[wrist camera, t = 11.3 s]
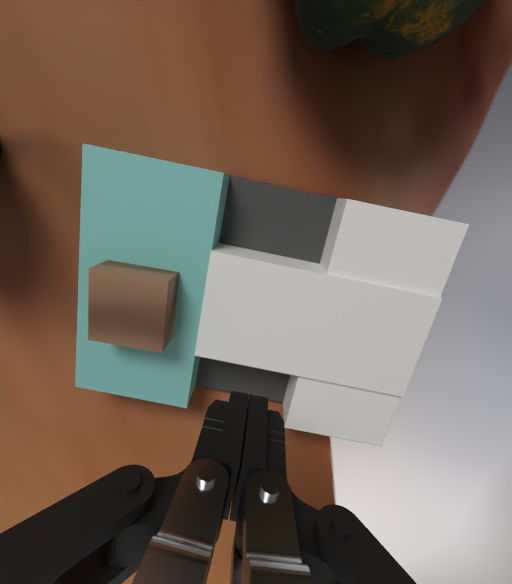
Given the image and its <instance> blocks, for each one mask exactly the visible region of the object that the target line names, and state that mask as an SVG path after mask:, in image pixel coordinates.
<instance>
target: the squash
mask: <svg viewBox="0 0 512 584" xmlns="http://www.w3.org/2000/svg"><path fill="white" fill-rule="evenodd" d="M485 1H486V0H294V6H295V13H296V18H297V22H298V26H299V29H300V32H301V34H302V36H303V38H304V39H305V41H306V42H307V44H308V45H309V46H310V47H312V48H313V49H316V50H329V49H333V48H337V47H340V46H342V45H345V44H348V43H350V42H352V41H354V40H356V39H357V38H358V39H359V42H360V44H361V45H362V47H363V48H364V50H365V51H367V52H368V53H369V54H371V55H372V56H374V57H377V58H383V59H394V58H398V57H401V56H405V55H408V54H412V53H415V52H416V51H419V50H421V49H423V48H425V47H427V46H429V45H431V44H433V43H435V42H437V41H438V40H440V39H441V38H443V37H445V36H446V35H448V34H450V33H451V32H452V31H454V30H455V29H456V28H458V27H459V26H460V25H462V24H463V23H464V22H465V21H466V20H467V19H468V18H469V17H470V16H471V15H472V14H473V13H474V12H475V11H476V10H477V9H478V8H479V7H480V6H481V5H482V4H483V3H484V2H485Z"/></svg>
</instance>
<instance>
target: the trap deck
mask: <svg viewBox="0 0 512 584" xmlns="http://www.w3.org/2000/svg"><path fill="white" fill-rule="evenodd" d="M468 226H469V224H464V223H460V222H455V221H450V220H445V219H441V218H436V217H431V216H426V215H422V214H417V213H412V212H407V211H403V210H398V209H393V208H388V207H384V206H379V205H374V204H369V203H364V202H360V201H355V200H350V199H342V198H334V197H329V196H324V195H320V194H315V193H310V192H305V191H301V190H296V189H291V188H286V187H281V186H277V185H272V184H267V183H262V182H258V181H253V180H248V179H243V178H239V177H234V176H229V175H227V174H225V173H221V172H217V171H212V170H207V169H202V168H198V167H193V166H188V165H183V164H178V163H174V162H169V161H164V160H159V159H155V158H150V157H145V156H140V155H136V154H131V153H126V152H121V151H117V150H112V149H107V148H102V147H97V146H93V145H88V144H83V150H82V182H81V215H80V247H79V280H78V313H77V345H76V378H75V387H80V388H85V389H90V390H96V391H101V392H106V393H111V394H116V395H121V396H126V397H131V398H136V399H141V400H147V401H152V402H157V403H162V404H167V405H172V406H177V407H182V408H187V406H188V404H189V401H190V398H191V396H192V393H193V391H194V388H195V386H196V385H197V386H202V387H207V388H212V389H217V390H222V391H227V392H231V390H232V389H233V390H238V391H243V392H248V393H249V396H250V393H253V394H258V395H263V396H268V400H273V401H278V402H283V412H284V427H285V428H290V429H295V430H300V431H305V432H310V433H315V434H320V435H325V436H331V437H336V438H341V439H346V440H351V441H356V442H362V443H367V444H372V445H377V446H382V443H383V441H384V438H385V436H386V433H387V430H388V428H389V425H390V423H391V420H392V418H393V415H394V413H395V410H396V408H397V405H398V402H399V400H400V398H401V397H403V396H404V394H405V391H406V389H407V386H408V384H409V381H410V379H411V376H412V374H413V371H414V369H415V366H416V364H417V361H418V359H419V356H420V354H421V351H422V349H423V346H424V344H425V341H426V339H427V336H428V334H429V331H430V328H431V326H432V324H433V321H434V319H435V316H436V314H437V311H438V309H439V306H440V304H441V301H442V298H441V294H442V291H443V289H444V287H445V284H446V282H447V279H448V276H449V274H450V271H451V269H452V266H453V264H454V261H455V259H456V256H457V254H458V251H459V248H460V246H461V244H462V241H463V238H464V236H465V234H466V231H467V228H468ZM107 260H112V261H117V262H123V263H129V264H135V265H141V266H147V267H152V268H158V269H164V270H170V271H176V272H179V281H178V291H177V301H176V312H175V322H174V333H173V338H172V339H171V341H170V342H169V344H168V345H167V346H166V348H165V349H164V351H163V352H162V353H160V352H155V351H149V350H143V349H137V348H131V347H125V346H119V345H113V344H107V343H102V342H96V341H90V340H88V278H89V268H90V267H92V266H95V265H97V264H99V263H102V262H104V261H107Z"/></svg>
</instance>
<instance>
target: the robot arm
mask: <svg viewBox="0 0 512 584" xmlns="http://www.w3.org/2000/svg"><path fill="white" fill-rule="evenodd" d="M248 397H249V400H248ZM284 434H285V428H284V421H283V419H282V417H281V415H280V413H279V412H277V411H272V410H268V396H263V395H258V394H253V393H250V396H249V393H248V392H243V391H238V390H233V389H232V390H231V394H230V399H229V402H226V401H221V400H215V401H214V402H213V403H212V404H211V405H210V406H209V407H208V410H207V413H206V416H205V419H204V423H203V426H202V429H201V433H200V436H199V439H198V442H197V446H196V449H195V452H194V455H193V459H192V461H191V463H190V464H189V465H188V466H187V468H186V469H185V470H183V471H182V472H180V473H178V474H176V475H173V476H168V477H160V478H154V476H153V474H152V472H151V471H150V470H149V469H147V468H146V467H143V466H140V465H127V466H123V467H121V468H119V469H117V470H115V471H113V472H111V473H109V474H107V475H106V476H104V477H102V478H100V479H98V480H97V481H95V482H93V483H91V484H89V485H88V486H86V487H84V488H82V489H80V490H78V491H77V492H75V493H73V494H71V495H69V496H68V497H66V498H64V499H62V500H60V501H59V502H57V503H55V504H53V505H51V506H50V507H48V508H46V509H44V510H42V511H40V512H39V513H37V514H35V515H33V516H31V517H30V518H28V519H26V520H24V521H22V522H21V523H19V524H17V525H15V526H13V527H11V528H10V529H8V530H6V531H4V532H2V533H1V534H0V584H121V583H123V582H124V581H125V580H126V579H127V578H129V577H130V576H131V575H132V574H133V573H135V572H136V571H137V573H136V575H135V577H134V580H133V582H132V584H206V581H207V577H208V573H209V569H210V565H211V561H212V556H213V552H214V548H215V544H216V542H217V540H218V538H219V535H220V530H221V526H222V521H223V519H225V520H228V515H229V511H230V506H231V502H232V506H231V513H230V520H231V521H236V530H235V536H234V541H233V545H232V554H231V574H230V584H416V583H415V581H414V580H413V579H412V578H411V577H410V576H409V575H408V574H407V572H405V570H404V569H403V568H402V567H401V566H400V565H399V564H398V562H397V561H396V560H395V559H394V558H393V557H392V556H391V555H390V554H389V552H388V551H387V550H386V549H385V548H384V547H383V546H382V545H381V544H380V542H379V541H378V540H377V539H376V538H375V537H374V536H373V535H372V533H371V532H370V531H369V530H368V529H367V528H366V527H365V526H364V525H363V523H362V522H361V521H360V520H359V519H358V518H357V517H356V516H355V515H354V514H353V513H352V512H351V511H349V510H348V509H346V508H344V507H342V506H339V505H326V506H324V507H323V508H322V509H321V510H320V511H319V510H317V509H315V508H313V507H311V506H309V505H308V504H306V503H304V502H302V501H301V500H300V499H298V498H297V497H296V496H295V495H294V493H293V492H292V491H291V488H290V486H289V484H288V482H287V477H286V453H285V435H284ZM232 498H233V499H232Z"/></svg>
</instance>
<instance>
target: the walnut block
mask: <svg viewBox="0 0 512 584" xmlns="http://www.w3.org/2000/svg"><path fill="white" fill-rule="evenodd" d="M178 281H179V272H176V271H170V270H164V269H158V268H152V267H147V266H141V265H135V264H129V263H123V262H117V261H112V260H107V261H104V262H102V263H99V264H97V265H95V266H92V267H90V268H89V278H88V340H90V341H96V342H102V343H107V344H113V345H119V346H125V347H131V348H137V349H143V350H149V351H155V352H160V353H162V352H163V351H164V349H165V348H166V346H167V345H168V344H169V342H170V341H171V339H172V338H173V333H174V322H175V312H176V301H177V291H178Z"/></svg>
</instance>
